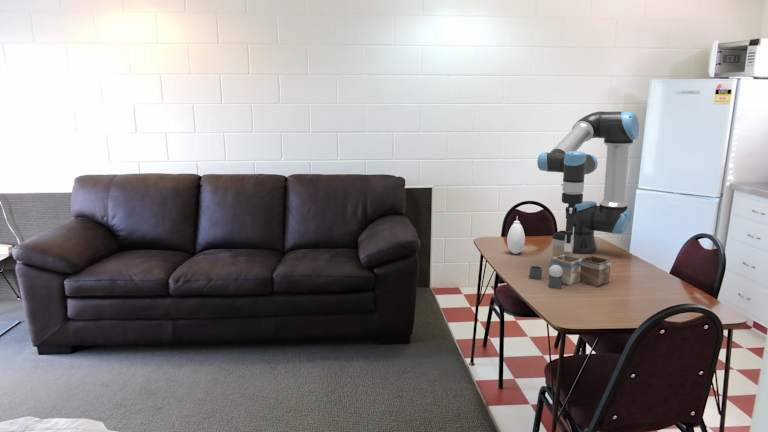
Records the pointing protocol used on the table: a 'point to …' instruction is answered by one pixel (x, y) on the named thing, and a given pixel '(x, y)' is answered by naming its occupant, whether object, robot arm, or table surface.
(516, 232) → the sauce bottle
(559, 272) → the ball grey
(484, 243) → the table surface
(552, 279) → the stand grey
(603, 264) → the brown open container
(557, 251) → the coffee cup
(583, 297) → the table surface
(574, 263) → the open beige box
